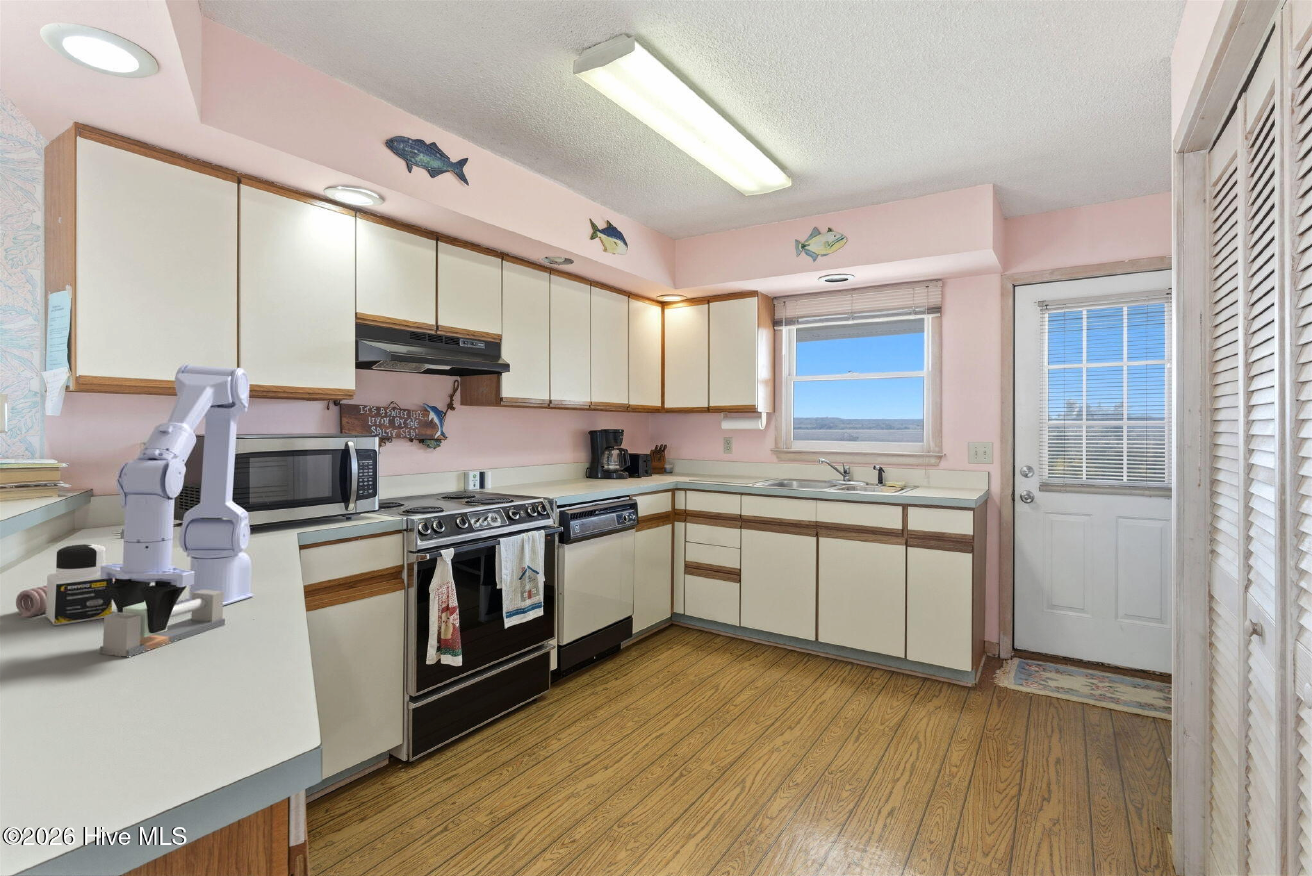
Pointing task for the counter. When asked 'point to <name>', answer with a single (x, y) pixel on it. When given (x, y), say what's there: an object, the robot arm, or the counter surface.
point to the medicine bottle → (78, 586)
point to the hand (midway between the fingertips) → (144, 629)
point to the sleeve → (142, 611)
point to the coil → (33, 601)
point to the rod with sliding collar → (205, 616)
